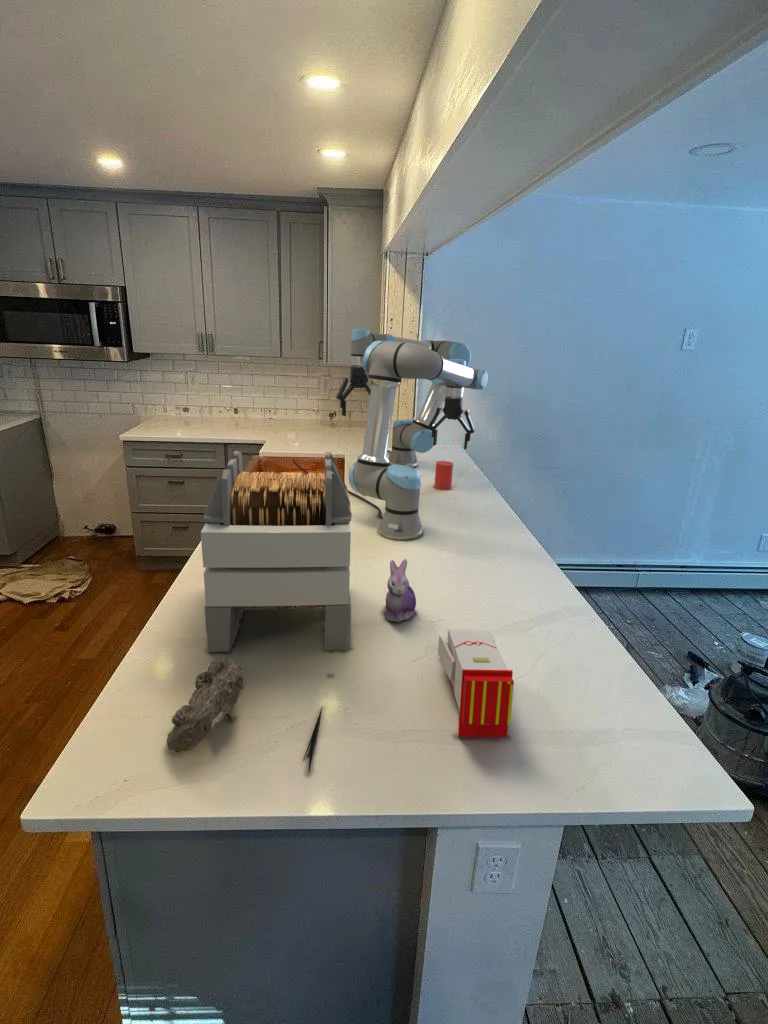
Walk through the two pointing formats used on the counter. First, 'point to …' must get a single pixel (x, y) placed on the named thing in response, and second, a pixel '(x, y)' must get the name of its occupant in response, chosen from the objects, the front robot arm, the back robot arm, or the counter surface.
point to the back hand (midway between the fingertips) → (358, 415)
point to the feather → (313, 740)
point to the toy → (478, 682)
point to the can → (443, 475)
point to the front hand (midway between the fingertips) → (450, 446)
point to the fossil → (206, 705)
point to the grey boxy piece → (277, 549)
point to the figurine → (399, 594)
